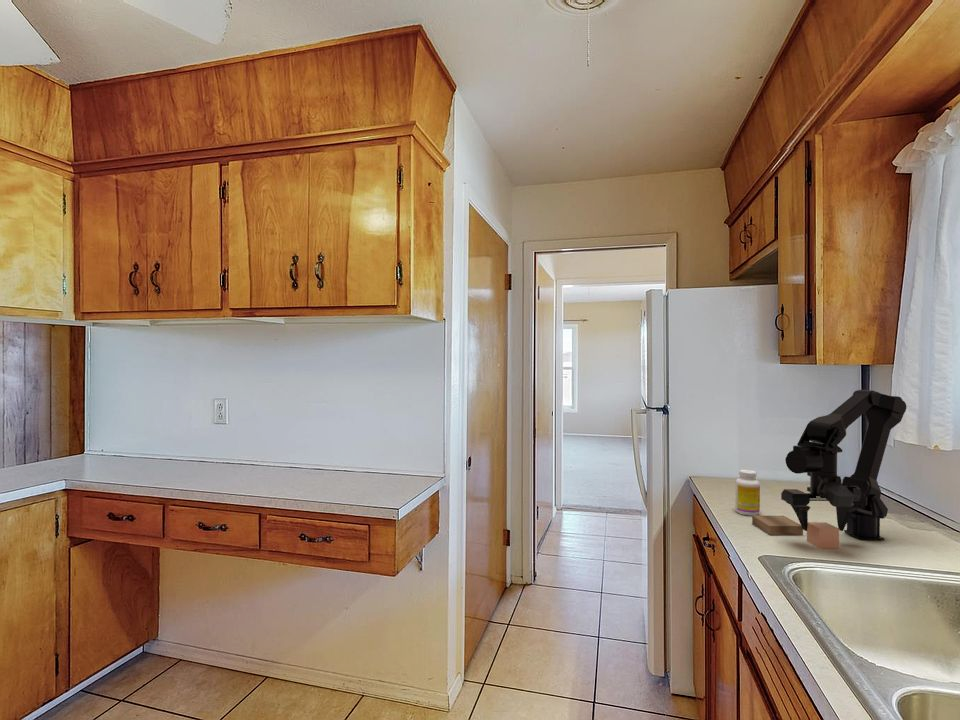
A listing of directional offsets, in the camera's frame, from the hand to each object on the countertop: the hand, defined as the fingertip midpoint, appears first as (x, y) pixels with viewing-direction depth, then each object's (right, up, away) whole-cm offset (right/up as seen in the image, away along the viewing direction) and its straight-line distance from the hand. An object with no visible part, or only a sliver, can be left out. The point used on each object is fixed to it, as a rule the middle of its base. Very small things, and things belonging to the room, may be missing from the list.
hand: (822, 530), depth 133 cm
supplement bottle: (-6, -3, +26) cm, 27 cm away
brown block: (-6, -3, +11) cm, 13 cm away
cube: (0, -4, 0) cm, 4 cm away
